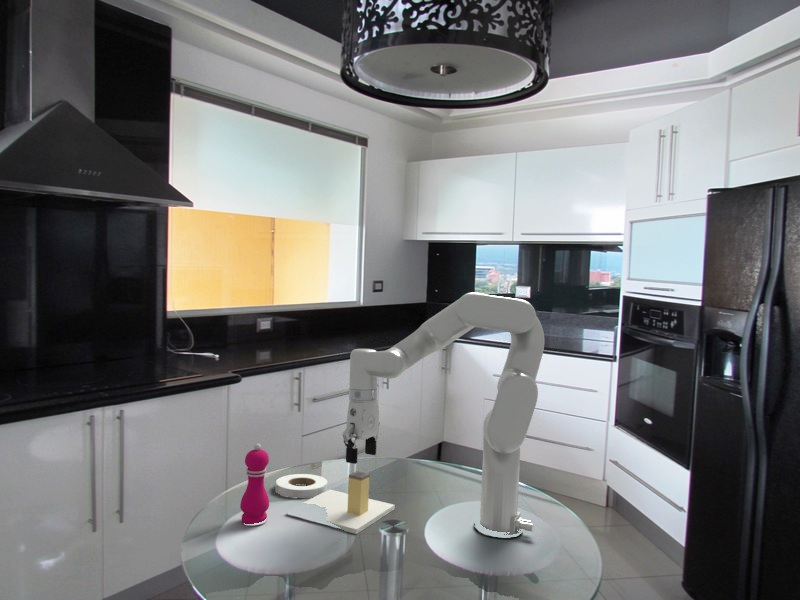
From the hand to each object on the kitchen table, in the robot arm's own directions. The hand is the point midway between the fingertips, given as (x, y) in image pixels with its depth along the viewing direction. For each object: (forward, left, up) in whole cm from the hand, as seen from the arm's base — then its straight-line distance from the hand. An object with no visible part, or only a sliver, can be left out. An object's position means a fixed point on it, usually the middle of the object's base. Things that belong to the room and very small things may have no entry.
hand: (361, 458), depth 146 cm
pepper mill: (+20, +18, -16) cm, 31 cm away
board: (+5, 0, -16) cm, 16 cm away
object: (+25, -8, -16) cm, 31 cm away
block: (0, 0, -14) cm, 14 cm away
